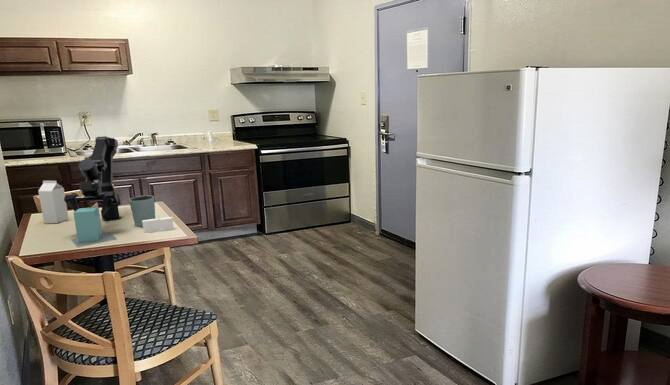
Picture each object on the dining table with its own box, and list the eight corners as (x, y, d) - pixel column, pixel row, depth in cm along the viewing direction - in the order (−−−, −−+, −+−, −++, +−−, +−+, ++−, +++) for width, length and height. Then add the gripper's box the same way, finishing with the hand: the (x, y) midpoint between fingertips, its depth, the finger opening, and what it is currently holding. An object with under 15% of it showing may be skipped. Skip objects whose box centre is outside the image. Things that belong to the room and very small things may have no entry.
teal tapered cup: (161, 221, 206) (158, 195, 204) (151, 227, 197) (148, 200, 194) (138, 221, 207) (135, 195, 204) (128, 228, 197) (124, 200, 194)
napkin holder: (135, 235, 188) (133, 222, 187) (151, 227, 199) (149, 214, 197) (169, 236, 185) (167, 222, 184) (183, 228, 196) (182, 215, 194)
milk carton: (57, 223, 209) (50, 182, 205) (43, 223, 211) (36, 182, 207) (68, 219, 216) (62, 179, 212) (55, 219, 218) (49, 179, 214)
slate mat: (109, 232, 191) (108, 232, 191) (117, 239, 181) (117, 238, 181) (70, 240, 183) (70, 239, 183) (77, 248, 173) (77, 247, 173)
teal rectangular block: (83, 237, 185) (79, 208, 182) (102, 235, 186) (98, 206, 184) (78, 242, 178) (73, 212, 176) (97, 241, 180) (93, 211, 177)
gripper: (61, 174, 183) (56, 208, 175) (112, 171, 187) (109, 204, 178) (71, 190, 192) (66, 223, 184) (119, 186, 196) (117, 218, 188)
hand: (89, 217), depth 183 cm, fingers open, 9 cm apart
